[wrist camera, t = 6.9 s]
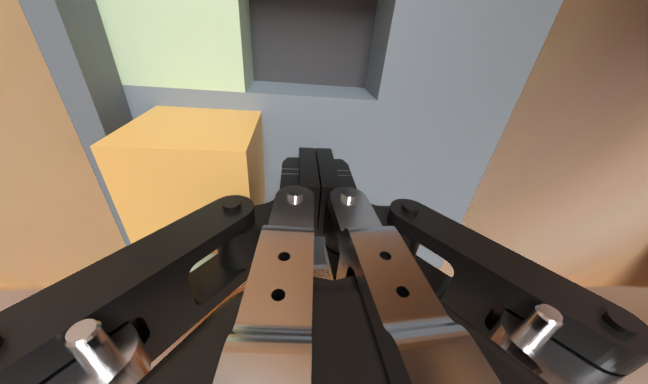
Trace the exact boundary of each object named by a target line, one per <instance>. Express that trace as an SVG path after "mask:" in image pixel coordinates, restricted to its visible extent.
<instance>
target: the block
mask: <svg viewBox="0 0 648 384" xmlns="http://www.w3.org/2000/svg"><path fill="white" fill-rule="evenodd" d="M90 148H91V150H92V153H93V155H94V158H95V160H96V162H97V165H98V167H99V169H100V172H101V174H102V176H103V179H104V181H105V184H106V186H107V188H108V191H109V193H110V195H111V198H112V200H113V202H114V205H115V207H116V209H117V212H118V214H119V217H120V219H121V221H122V224H123V226H124V228H125V231H126V233H127V235H128V238H129V240H130V243H131V244H132V243H134V242H136V241H138V240H140V239H142V238H144V237H146V236H148V235H149V234H151V233H153V232H155V231H157V230H159V229H161V228H163V227H165V226H167V225H169V224H171V223H173V222H175V221H176V220H178V219H180V218H182V217H184V216H186V215H188V214H190V213H192V212H194V211H196V210H198V209H200V208H202V207H204V206H205V205H207V204H209V203H211V202H213V201H215V200H217V199H219V198H222V197H225V196H230V195H241V196H245V197H248V198H249V199H251V200H252V201H253V203H254V206H255V205H260V204H264V198H265V176H264V155H263V133H262V112H261V111H248V110H229V109H211V108H192V107H174V106H155V107H154V108H152V109H150V110H149V111H147V112H145V113H144V114H142V115H140V116H139V117H137V118H135V119H134V120H132V121H130V122H129V123H127V124H125V125H124V126H122V127H121V128H119V129H117V130H116V131H114V132H112V133H111V134H109V135H107V136H106V137H104V138H102V139H101V140H99V141H97V142H96V143H94V144H92V145H91V146H90ZM211 254H218V251H217V250H215V251H214V252H212V253H211Z"/></svg>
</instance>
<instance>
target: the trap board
mask: <svg viewBox="0 0 648 384" xmlns="http://www.w3.org/2000/svg"><path fill="white" fill-rule="evenodd" d="M18 1H19V3H20V6H21V8H22V10H23V12H24V15H25V17H26V19H27V21H28V24H29V26H30V28H31V31H32V33H33V35H34V37H35V40H36V42H37V44H38V46H39V49H40V51H41V53H42V56H43V58H44V60H45V62H46V65H47V67H48V69H49V72H50V74H51V76H52V78H53V81H54V83H55V85H56V87H57V90H58V92H59V94H60V97H61V99H62V101H63V103H64V106H65V108H66V110H67V112H68V115H69V117H70V119H71V122H72V124H73V126H74V128H75V131H76V133H77V135H78V137H79V140H80V142H81V144H82V147H83V149H84V151H85V153H86V156H87V158H88V160H89V162H90V165H91V167H92V169H93V172H94V174H95V176H96V178H97V181H98V183H99V185H100V187H101V190H102V192H103V194H104V197H105V199H106V201H107V203H108V206H109V208H110V210H111V212H112V215H113V217H114V219H115V222H116V224H117V226H118V228H119V231H120V233H121V235H122V237H123V240H124V242H125V244H126V246H128V245H130V244H131V243H130V240H129V238H128V235H127V233H126V231H125V228H124V226H123V224H122V221H121V219H120V217H119V214H118V212H117V209H116V207H115V205H114V202H113V200H112V198H111V195H110V193H109V191H108V188H107V186H106V184H105V181H104V179H103V176H102V174H101V172H100V169H99V167H98V165H97V162H96V160H95V158H94V155H93V153H92V150H91V148H90V146H91V145H92V144H94V143H96V142H97V141H99V140H101V139H102V138H104V137H106V136H107V135H109V134H111V133H112V132H114V131H116V130H117V129H119V128H121V127H122V126H124V125H125V124H127V123H129V122H130V121H132V120H134V119H135V118H137V117H139V116H140V115H142V114H144V113H145V112H147V111H149V110H150V109H152V108H154V107H155V106H174V107H192V108H211V109H229V110H248V111H261V112H262V133H263V155H264V176H265V198H264V204H265V203H268V202H270V201H272V200H274V199H275V195H276V193H277V191H278V190H280V181H281V171H282V162H283V161H284V160H285V159H286V158H287V157H297V158H299V147H305V148H331V150H332V153H333V157H334V159H342V160H344V161H345V162H346V163H347V164H348V165H349V168H350V171H351V174H352V176H353V179H354V182H355V185H356V187H357V189H358V190H360V191H362V192H363V193H364V194H365V195H366V196H367V198H368V200H369V202H370V203H371V204H373V205H377V206H381V207H386V208H390V204H391V202H392V201H394V200H396V199H410V200H414V201H417V202H419V203H421V204H423V205H425V206H427V207H429V208H431V209H433V210H435V211H437V212H438V213H440V214H442V215H444V216H446V217H448V218H450V219H452V220H454V221H456V222H458V223H460V224H461V223H462V220H463V218H464V216H465V214H466V212H467V210H468V207H469V205H470V203H471V201H472V199H473V196H474V194H475V192H476V190H477V188H478V186H479V183H480V181H481V179H482V177H483V175H484V173H485V170H486V168H487V166H488V164H489V162H490V160H491V157H492V155H493V153H494V151H495V149H496V146H497V144H498V142H499V140H500V138H501V136H502V133H503V131H504V129H505V127H506V125H507V123H508V120H509V118H510V116H511V114H512V112H513V109H514V107H515V105H516V103H517V101H518V99H519V96H520V94H521V92H522V90H523V88H524V86H525V83H526V81H527V79H528V77H529V75H530V72H531V70H532V68H533V66H534V64H535V62H536V59H537V57H538V55H539V53H540V51H541V49H542V46H543V44H544V42H545V40H546V38H547V36H548V33H549V31H550V29H551V27H552V25H553V22H554V20H555V18H556V16H557V14H558V12H559V9H560V7H561V5H562V3H563V1H564V0H18ZM324 243H325V238H324V236H318V235H317V232H316V236H314V264H313V270H328V269H327V264H326V260H325V255H324ZM215 255H216V254H209V255H208V256H206V257H205V258H203V259H202V260H200V261H199V262H198V263H196V264H195V265H194V266H193V267H192V269H191V270H190V272H192V271H193V270H195V269H196V268H198V267H199V266H200V265H202V264H203V263H205V262H206V261H208V260H209V259H210V258H212V257H213V256H215ZM416 255H417V256H419V257H420V258H422V259H423V260H425V261H426V262H428V263H429V264H431V265H432V266H434V267H435V268H441V266H442V264H443V262H444V260H445V259H443V258H441V257H440V256H438V255H437V254H435V253H433V252H432V251H430V250H429V249H427V248H425V247H424V246H422V245H421V244H420V245H419V248H418V250H417V253H416Z"/></svg>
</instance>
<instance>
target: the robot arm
mask: <svg viewBox="0 0 648 384" xmlns="http://www.w3.org/2000/svg"><path fill="white" fill-rule="evenodd" d="M316 232H317V235H318V236H324V238H325V243H324V255H325V260H326V264H327V269H328V273H329V278H330V280H327V279H322V278H317V277H313V264H314V236H316ZM420 244H421V245H422V246H424V247H425V248H427V249H429V250H430V251H432V252H433V253H435V254H437V255H438V256H440V257H441V258H443V259H445V260H446V261H448V262H449V263H450V264H451V265H452V267H453V269H454V276H453V277H450V276H448V275H446V274H445V273H443V272H442V271H440V270H438V269H437V268H435V267H434V266H432V265H431V264H429V263H428V262H426V261H425V260H423V259H422V258H420V257H419V256H417V255H416V253H417V250H418V248H419V245H420ZM215 250H217V251H218V254H216V255H215V256H213V257H212V258H210V259H209V260H208V261H206V262H205V263H203V264H202V265H200V266H199V267H198V268H196V269H195V270H193V271H192V272H190V270H191V269H192V267H193V266H194V265H195V264H196V263H198V262H199V261H200V260H202V259H203V258H205V257H206V256H208V255H209V254H211V253H212V252H214V251H215ZM189 272H190V273H189ZM246 280H247V283H246V286H245V290H244V291H242V292H240V293H238V294H237V295H235V296H233V297H231V298H230V299H229V300H227V301H226V302H224V303H223V304H222V305H221V306H220V307H218V308H217V309H216V310H215V311H214V312H213V313H212V314H211V315H210V316H209V317H208V318H206V319H205V320H204V321H203V322H202V323H201V324H200V325H199V326H198V327H197V328H196V329H195V330H194V331H193V332H191V333H190V334H189V335H188V336H187V337H186V338H185V339H184V340H183V341H182V342H181V343H180V344H178V345H177V346H176V347H175V348H174V349H173V350H172V351H171V352H170V353H169V354H168V355H167V356H166V357H164V358H163V359H162V360H161V361H160V362H159V363H158V364H157V365H156V366H155V367H154V368H153V369H152V370H150V367H151V362H152V361H154V360H155V359H156V358H157V357H158V356H159V355H161V354H162V353H163V352H164V351H165V350H166V349H167V348H168V347H170V346H171V345H172V344H173V343H174V342H176V341H177V340H178V339H179V338H180V337H181V336H182V335H183V334H185V333H186V332H187V331H188V330H189V329H191V328H192V327H193V326H194V325H195V324H196V323H197V322H199V321H200V320H201V319H202V318H203V317H204V316H205V315H207V314H208V313H209V312H210V311H211V310H212V309H213V308H215V307H216V306H217V305H218V304H219V303H221V302H222V301H223V300H224V299H225V298H226V297H227V296H229V295H230V294H231V293H232V292H233V291H234V290H236V289H237V288H238V287H239V286H240V285H241V284H242V283H244V282H245V281H246ZM647 362H648V326H647V325H646V324H645V323H644V322H643V321H641V320H640V319H639V318H638V317H636V316H635V315H633V314H632V313H630V312H629V311H627V310H625V309H624V308H622V307H620V306H618V305H616V304H614V303H612V302H610V301H608V300H606V299H604V298H602V297H601V296H599V295H597V294H595V293H593V292H591V291H589V290H587V289H585V288H583V287H581V286H579V285H577V284H576V283H574V282H572V281H570V280H568V279H566V278H564V277H562V276H560V275H558V274H556V273H554V272H552V271H550V270H548V269H547V268H545V267H543V266H541V265H539V264H537V263H535V262H533V261H531V260H529V259H527V258H525V257H523V256H521V255H520V254H518V253H516V252H514V251H512V250H510V249H508V248H506V247H504V246H502V245H500V244H498V243H496V242H494V241H492V240H491V239H489V238H487V237H485V236H483V235H481V234H479V233H477V232H475V231H473V230H471V229H469V228H467V227H465V226H464V225H462V224H460V223H458V222H456V221H454V220H452V219H450V218H448V217H446V216H444V215H442V214H440V213H438V212H437V211H435V210H433V209H431V208H429V207H427V206H425V205H423V204H421V203H419V202H417V201H414V200H410V199H396V200H394V201H392V202H391V204H390V208H386V207H381V206H377V205H373V204H371V203H370V202H369V200H368V198H367V196H366V195H365V194H364V193H363V192H362V191H360V190H358V189H357V187H356V185H355V182H354V179H353V176H352V174H351V171H350V168H349V165H348V164H347V163H346V162H345V161H344V160H342V159H334V157H333V153H332V150H331V148H305V147H299V158H297V157H287V158H286V159H285V160H284V161H283V162H282V171H281V181H280V190H278V191H277V193H276V195H275V199H274V200H272V201H270V202H268V203H265V204H260V205H255V206H254V203H253V201H252V200H251V199H249V198H248V197H245V196H241V195H230V196H225V197H222V198H219V199H217V200H215V201H213V202H211V203H209V204H207V205H205V206H204V207H202V208H200V209H198V210H196V211H194V212H192V213H190V214H188V215H186V216H184V217H182V218H180V219H178V220H176V221H175V222H173V223H171V224H169V225H167V226H165V227H163V228H161V229H159V230H157V231H155V232H153V233H151V234H149V235H148V236H146V237H144V238H142V239H140V240H138V241H136V242H134V243H132V244H130V245H128V246H126V247H124V248H122V249H120V250H119V251H117V252H115V253H113V254H111V255H109V256H107V257H105V258H103V259H101V260H99V261H97V262H95V263H93V264H91V265H90V266H88V267H86V268H84V269H82V270H80V271H78V272H76V273H74V274H72V275H70V276H68V277H66V278H64V279H63V280H61V281H59V282H57V283H55V284H53V285H51V286H49V287H47V288H45V289H43V290H41V291H39V292H37V293H36V294H34V295H32V296H30V297H28V298H26V299H24V300H22V301H20V302H18V303H16V304H14V305H12V306H11V307H8V308H6V309H5V310H3V311H1V312H0V384H622V379H623V378H625V377H626V376H628V375H629V374H631V373H632V372H634V371H635V370H637V369H638V368H640V367H641V366H643V365H644V364H646V363H647Z"/></svg>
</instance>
